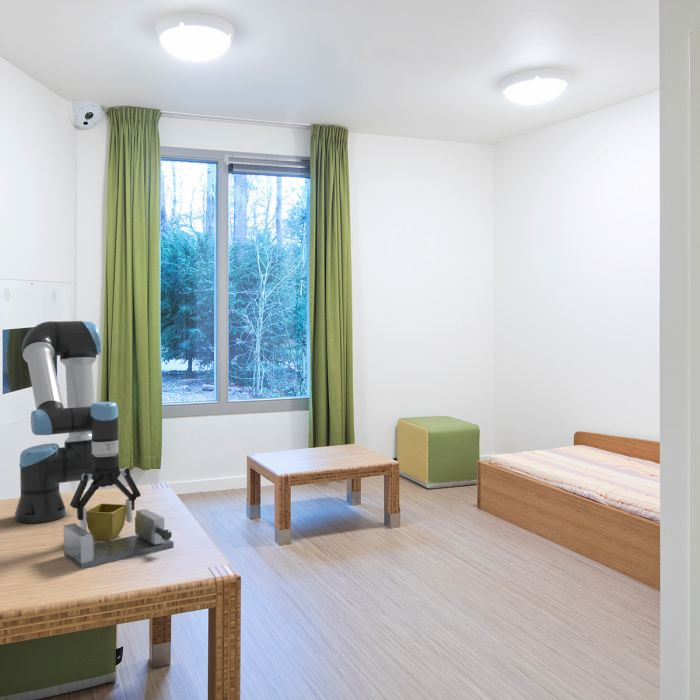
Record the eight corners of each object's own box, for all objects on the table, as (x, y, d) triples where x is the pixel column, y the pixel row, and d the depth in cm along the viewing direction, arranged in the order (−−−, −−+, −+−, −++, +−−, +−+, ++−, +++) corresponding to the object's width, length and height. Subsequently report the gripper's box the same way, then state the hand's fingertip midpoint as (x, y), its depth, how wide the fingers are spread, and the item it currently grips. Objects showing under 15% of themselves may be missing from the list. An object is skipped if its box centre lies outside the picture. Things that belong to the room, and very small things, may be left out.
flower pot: (112, 543, 200) (111, 512, 199) (84, 541, 201) (84, 511, 201) (127, 534, 208) (127, 504, 208) (101, 532, 210) (101, 503, 210)
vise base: (64, 556, 189) (63, 525, 189) (153, 536, 206) (153, 508, 206) (81, 568, 179) (80, 536, 179) (173, 547, 196) (173, 517, 196)
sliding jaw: (134, 535, 201) (134, 511, 201) (146, 532, 204) (145, 509, 204) (161, 550, 188) (161, 525, 188) (174, 547, 190) (173, 522, 190)
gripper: (66, 462, 193) (68, 537, 193) (150, 451, 209) (152, 520, 210) (57, 458, 198) (59, 531, 199) (140, 447, 215) (141, 515, 215)
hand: (106, 526), depth 204 cm, fingers open, 13 cm apart
